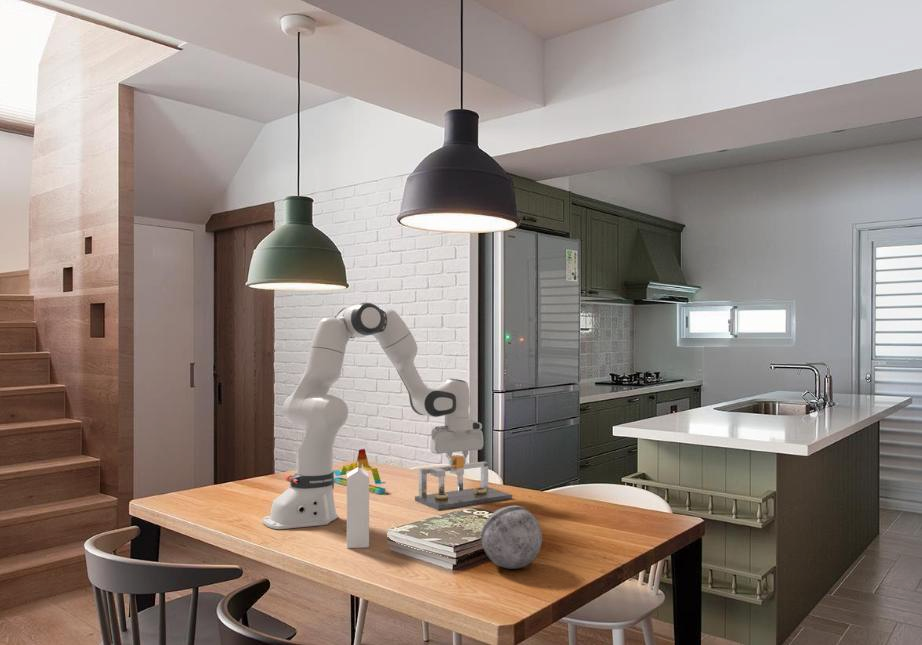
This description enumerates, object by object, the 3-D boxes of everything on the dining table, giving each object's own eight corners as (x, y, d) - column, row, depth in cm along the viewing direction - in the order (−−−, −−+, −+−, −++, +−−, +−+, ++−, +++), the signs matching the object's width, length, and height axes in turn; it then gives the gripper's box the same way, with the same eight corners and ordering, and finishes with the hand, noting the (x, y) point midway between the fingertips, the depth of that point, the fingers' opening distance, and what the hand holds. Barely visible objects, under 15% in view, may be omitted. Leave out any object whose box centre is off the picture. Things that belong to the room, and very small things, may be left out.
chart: (331, 482, 272) (331, 444, 272) (338, 481, 274) (338, 443, 274) (378, 495, 250) (378, 453, 250) (385, 493, 252) (385, 452, 252)
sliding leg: (458, 491, 239) (458, 457, 239) (449, 488, 243) (449, 455, 244) (465, 490, 240) (465, 457, 241) (457, 487, 245) (457, 454, 245)
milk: (368, 541, 191) (369, 461, 192) (369, 547, 185) (369, 465, 186) (346, 542, 190) (347, 461, 191) (346, 548, 185) (346, 465, 185)
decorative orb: (521, 554, 179) (521, 496, 179) (554, 571, 166) (554, 508, 166) (471, 563, 172) (471, 503, 172) (501, 581, 159) (501, 516, 159)
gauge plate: (438, 510, 226) (438, 476, 226) (414, 500, 240) (414, 468, 240) (511, 498, 242) (511, 467, 243) (485, 490, 256) (485, 460, 256)
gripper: (436, 427, 234) (436, 468, 234) (485, 423, 245) (485, 463, 245) (427, 425, 240) (427, 465, 239) (475, 422, 251) (476, 460, 250)
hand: (457, 464), depth 242 cm, fingers closed on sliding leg, 3 cm apart
